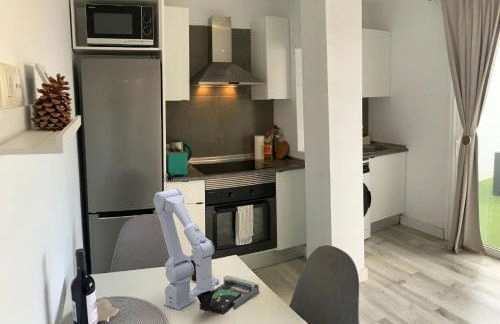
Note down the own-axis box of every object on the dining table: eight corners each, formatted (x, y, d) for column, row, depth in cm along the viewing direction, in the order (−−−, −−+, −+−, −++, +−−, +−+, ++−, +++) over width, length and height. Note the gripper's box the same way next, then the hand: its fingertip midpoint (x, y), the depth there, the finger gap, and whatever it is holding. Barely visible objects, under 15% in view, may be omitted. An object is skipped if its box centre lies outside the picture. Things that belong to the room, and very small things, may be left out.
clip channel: (234, 308, 154) (234, 295, 153) (206, 299, 161) (205, 287, 161) (258, 292, 167) (258, 280, 166) (231, 284, 175) (231, 273, 174)
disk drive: (223, 316, 150) (242, 298, 163) (223, 309, 149) (241, 292, 162) (199, 311, 154) (219, 294, 167) (199, 304, 154) (219, 287, 167)
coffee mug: (207, 282, 178) (206, 260, 177) (187, 282, 178) (186, 260, 177) (210, 272, 189) (209, 251, 188) (192, 272, 190) (191, 251, 188)
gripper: (198, 283, 141) (200, 321, 142) (225, 269, 152) (226, 304, 154) (183, 279, 145) (185, 316, 146) (210, 266, 156) (211, 300, 158)
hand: (205, 309), depth 150 cm, fingers closed
